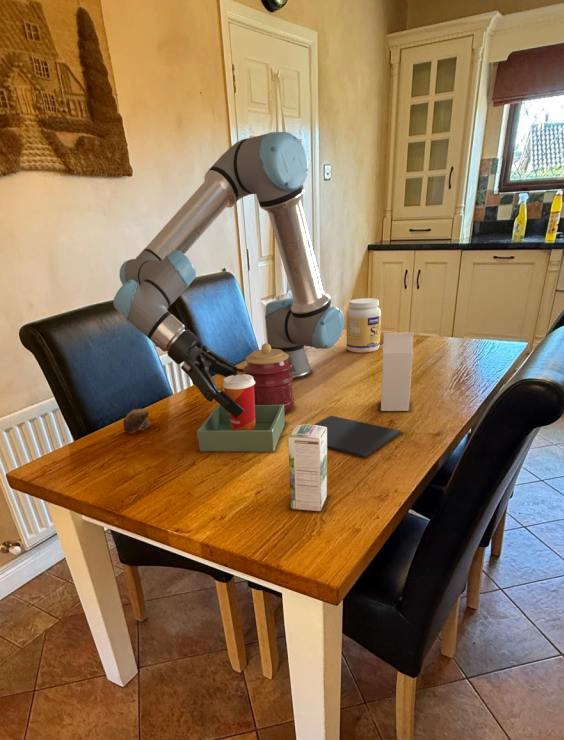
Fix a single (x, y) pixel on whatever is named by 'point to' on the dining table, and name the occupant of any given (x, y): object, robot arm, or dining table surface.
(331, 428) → the placemat
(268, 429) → the crate
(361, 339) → the supplement tub
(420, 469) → the dining table surface
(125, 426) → the toy hedgehog
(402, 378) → the milk carton
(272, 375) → the kitchen canister
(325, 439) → the syrup box
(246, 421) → the paper cup
